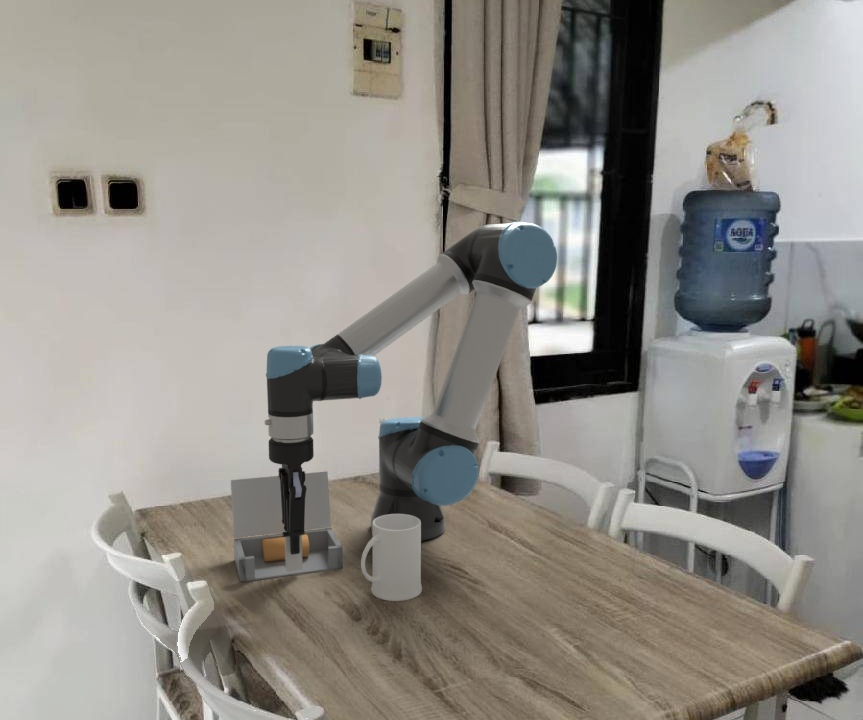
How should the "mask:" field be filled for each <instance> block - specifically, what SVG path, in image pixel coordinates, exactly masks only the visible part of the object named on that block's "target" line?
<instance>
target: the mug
mask: <svg viewBox="0 0 863 720" xmlns="http://www.w3.org/2000/svg"><path fill="white" fill-rule="evenodd" d="M371 532H372V534H371V535H372V538H370V540H369V541H368V542H367V544H366V546H365V547H364V549H363V552H362V554H361V559H360V569H361V573H362V575H363V576H364V578H365V579H366V580H367V581H369V582H371V583H372V584H371V588H370V592H371V594H372V595H373V596H374V597H376V598H377V599H380V600H384V601H386V602H387V601H388V602H403V601H409V600H413V599H416V598H417V597H418V596H420V594H421V593H422V590H423V586H422V579H421V578H422V576H421V575H422V574H421V572H422V569H421V568H422V565H421V564H422V563H421V562H422V561H421V560H422V543H421V542H422V541H421V521H420V519H418V518H417V517H415V516H412V515H407V514H388V515H383V516H380V517H377V518H375V519H374V520H373V523H372V531H371ZM371 548H372V576H371V575H370V574H369V573H368V572H367V569H366V559H367V555H368V553H369V551H370V549H371Z"/></svg>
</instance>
